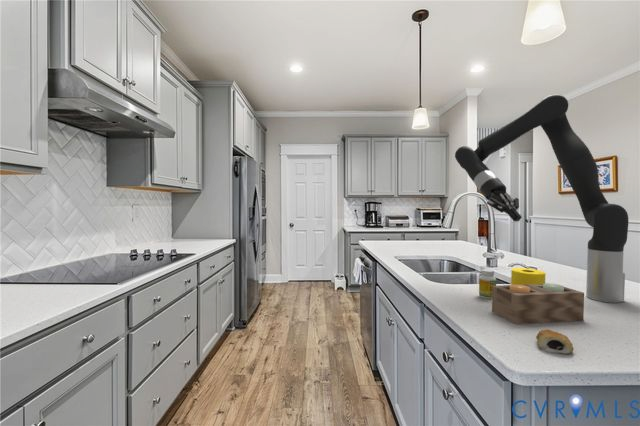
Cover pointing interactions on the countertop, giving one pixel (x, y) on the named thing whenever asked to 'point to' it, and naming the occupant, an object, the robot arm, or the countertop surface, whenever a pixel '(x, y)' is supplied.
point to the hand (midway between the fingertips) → (518, 219)
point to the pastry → (554, 342)
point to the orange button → (520, 288)
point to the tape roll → (527, 276)
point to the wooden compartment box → (538, 305)
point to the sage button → (553, 287)
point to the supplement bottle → (486, 283)
